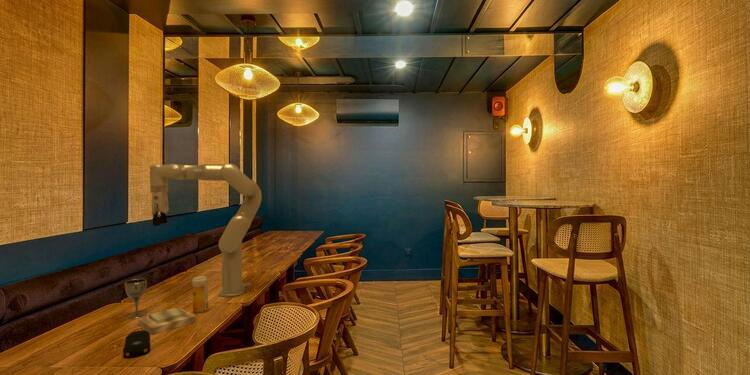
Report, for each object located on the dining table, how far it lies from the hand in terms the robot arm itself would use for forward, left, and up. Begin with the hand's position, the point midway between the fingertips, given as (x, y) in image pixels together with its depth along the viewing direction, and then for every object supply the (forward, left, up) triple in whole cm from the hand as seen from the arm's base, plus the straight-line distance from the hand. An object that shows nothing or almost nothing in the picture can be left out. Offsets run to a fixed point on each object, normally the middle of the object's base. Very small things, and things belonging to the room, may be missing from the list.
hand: (160, 224), depth 178 cm
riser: (+10, +36, -37) cm, 53 cm away
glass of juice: (-5, +32, -38) cm, 50 cm away
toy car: (+25, +52, -38) cm, 69 cm away
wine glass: (+15, +15, -37) cm, 43 cm away
